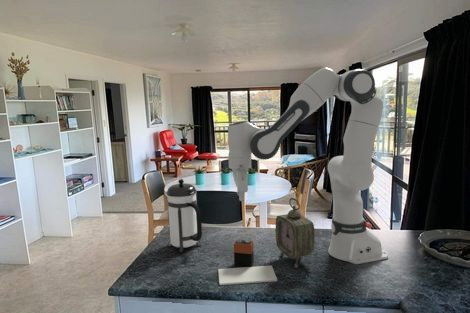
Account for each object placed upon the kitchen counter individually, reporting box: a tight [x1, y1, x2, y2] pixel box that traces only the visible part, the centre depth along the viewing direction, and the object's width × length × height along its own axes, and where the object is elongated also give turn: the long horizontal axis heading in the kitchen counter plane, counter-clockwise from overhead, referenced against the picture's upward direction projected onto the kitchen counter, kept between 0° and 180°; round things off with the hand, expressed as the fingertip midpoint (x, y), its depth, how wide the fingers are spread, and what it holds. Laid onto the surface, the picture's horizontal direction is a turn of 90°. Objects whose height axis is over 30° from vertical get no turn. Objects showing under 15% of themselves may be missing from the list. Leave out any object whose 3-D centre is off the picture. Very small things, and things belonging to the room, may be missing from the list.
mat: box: [218, 265, 278, 286], centre depth 116 cm, size 20×10×1 cm, turn 95°
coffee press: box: [165, 178, 203, 254], centre depth 140 cm, size 17×16×30 cm
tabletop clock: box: [275, 197, 316, 269], centre depth 125 cm, size 14×9×25 cm, turn 22°
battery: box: [233, 238, 255, 268], centre depth 124 cm, size 4×7×10 cm, turn 75°
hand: (240, 197), depth 128 cm, fingers open, 6 cm apart
